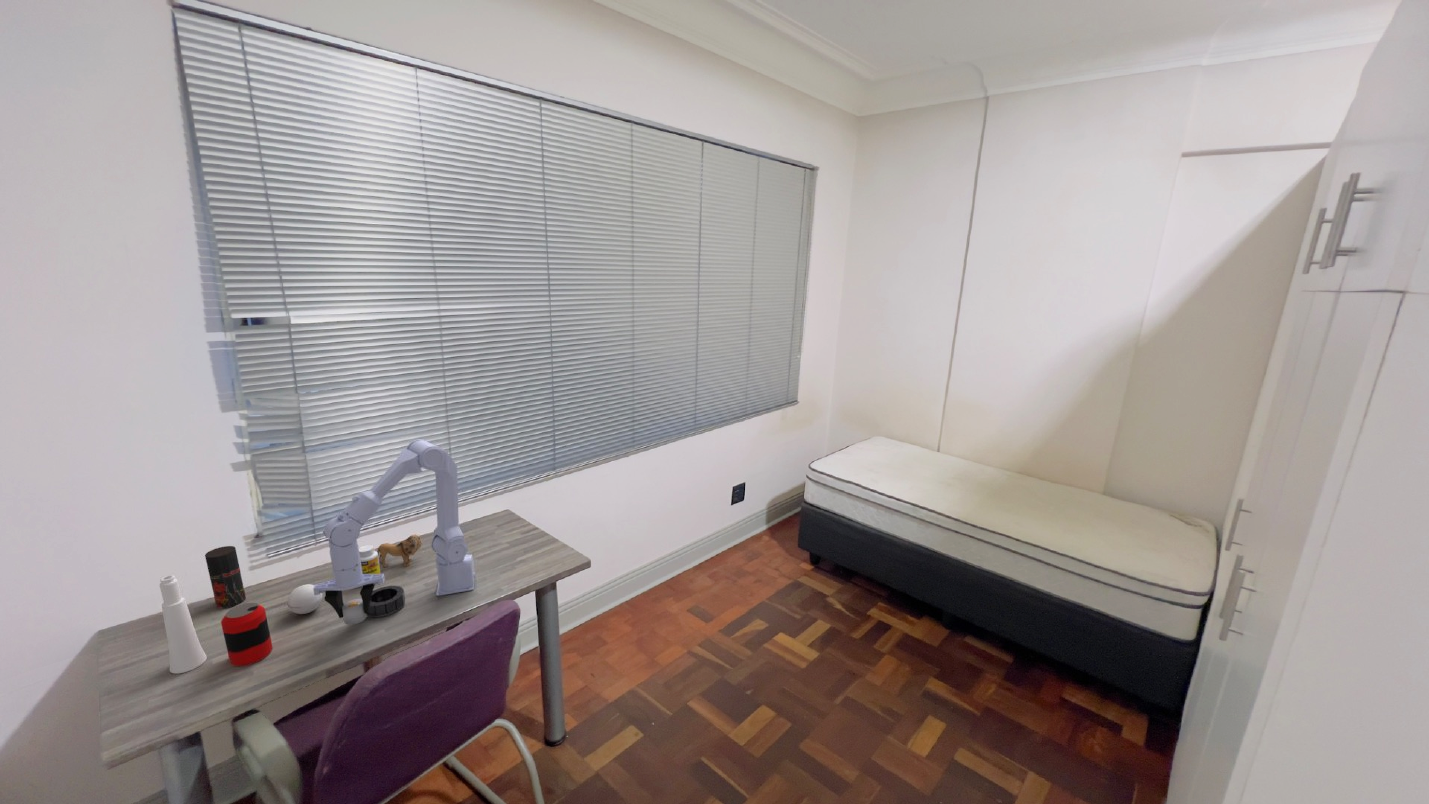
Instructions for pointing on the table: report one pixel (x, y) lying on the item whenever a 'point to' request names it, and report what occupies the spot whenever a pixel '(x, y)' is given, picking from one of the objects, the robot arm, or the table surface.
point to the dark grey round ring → (386, 601)
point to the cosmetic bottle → (179, 629)
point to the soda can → (246, 634)
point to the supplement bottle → (369, 560)
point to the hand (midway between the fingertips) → (354, 613)
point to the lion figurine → (400, 549)
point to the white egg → (304, 599)
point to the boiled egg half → (353, 611)
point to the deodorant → (225, 577)
